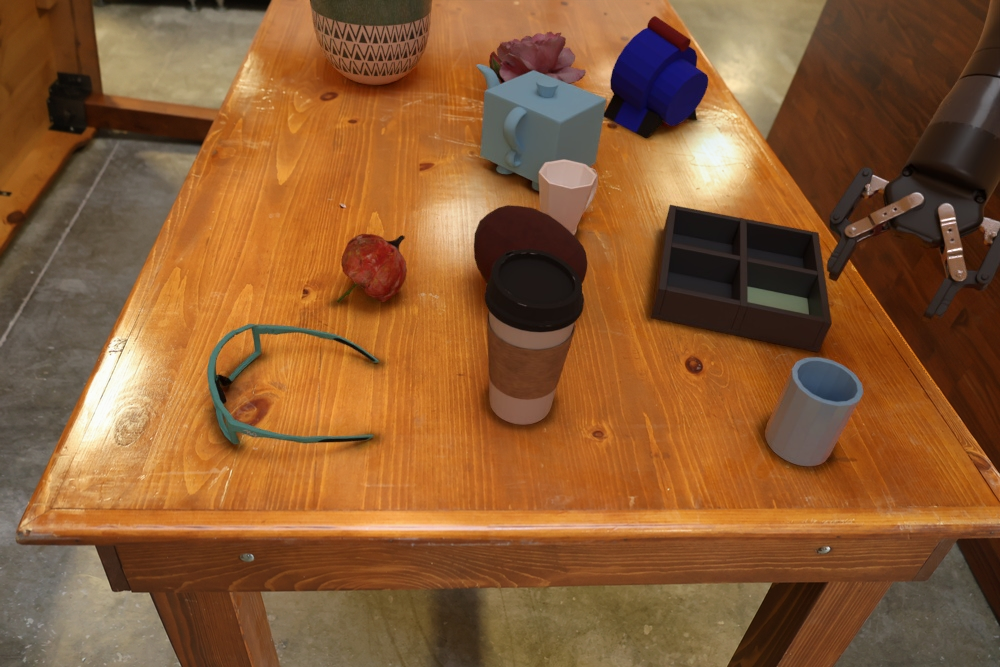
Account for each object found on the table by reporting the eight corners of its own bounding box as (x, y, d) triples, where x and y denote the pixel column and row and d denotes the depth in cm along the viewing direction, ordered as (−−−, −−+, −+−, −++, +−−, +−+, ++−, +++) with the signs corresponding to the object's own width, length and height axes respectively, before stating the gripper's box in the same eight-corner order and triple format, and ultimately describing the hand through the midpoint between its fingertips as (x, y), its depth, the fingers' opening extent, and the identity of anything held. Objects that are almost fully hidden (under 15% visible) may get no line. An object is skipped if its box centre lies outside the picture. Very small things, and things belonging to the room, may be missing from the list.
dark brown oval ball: (545, 348, 79) (558, 266, 73) (446, 294, 85) (450, 214, 78) (600, 299, 86) (617, 220, 80) (506, 252, 92) (514, 175, 85)
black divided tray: (807, 260, 96) (818, 232, 93) (818, 352, 82) (832, 323, 80) (662, 232, 98) (669, 204, 95) (650, 317, 85) (658, 288, 82)
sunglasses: (225, 346, 76) (223, 307, 72) (378, 359, 78) (382, 321, 75) (192, 457, 65) (188, 416, 62) (371, 468, 68) (375, 429, 64)
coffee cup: (524, 360, 78) (541, 235, 68) (582, 409, 73) (609, 283, 63) (458, 394, 73) (465, 266, 64) (515, 449, 69) (533, 320, 59)
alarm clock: (648, 97, 130) (668, 5, 120) (707, 125, 123) (733, 30, 113) (599, 113, 123) (616, 18, 113) (658, 144, 117) (681, 45, 107)
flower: (603, 80, 126) (594, 18, 121) (544, 116, 119) (531, 51, 113) (538, 76, 136) (526, 18, 130) (479, 108, 129) (464, 48, 123)
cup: (519, 229, 96) (526, 171, 91) (568, 201, 102) (577, 145, 97) (563, 253, 93) (573, 194, 87) (611, 223, 99) (623, 166, 93)
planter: (410, 51, 137) (410, -83, 123) (450, 96, 124) (456, -48, 110) (300, 60, 130) (287, -80, 116) (331, 109, 117) (321, -42, 103)
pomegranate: (365, 337, 82) (436, 277, 81) (317, 297, 77) (392, 233, 76) (351, 301, 87) (418, 244, 86) (306, 262, 83) (376, 201, 82)
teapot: (603, 167, 110) (620, 79, 101) (537, 207, 100) (549, 114, 92) (506, 124, 118) (513, 39, 109) (436, 157, 108) (438, 67, 100)
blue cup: (827, 426, 74) (858, 365, 69) (832, 473, 70) (867, 412, 64) (763, 412, 75) (790, 351, 70) (765, 457, 70) (794, 396, 65)
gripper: (893, 96, 69) (801, 254, 69) (1067, 152, 63) (966, 325, 63) (887, 132, 76) (804, 276, 76) (1044, 186, 70) (953, 342, 70)
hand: (878, 298), depth 70 cm, fingers open, 8 cm apart
